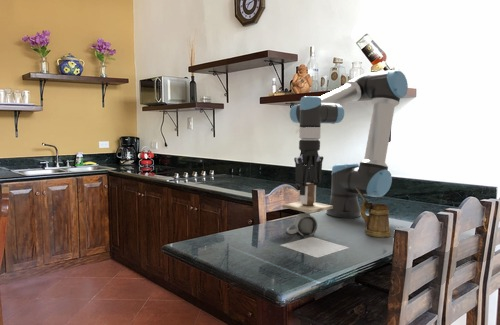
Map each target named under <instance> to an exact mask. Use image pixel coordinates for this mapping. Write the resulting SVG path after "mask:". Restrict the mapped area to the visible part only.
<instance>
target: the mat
mask: <svg viewBox="0 0 500 325" xmlns="http://www.w3.org/2000/svg"><path fill="white" fill-rule="evenodd" d="M280 247H284V248H287V249H290V250H293V251H296V252H299V253H302V254H305V255H308V256H311V257H314V258H317V259H319V258H321V257H324V256H328V255H331V254H334V253H337V252H340V251H341V252H342V251H344V250H346V249H350V247H348V246H344V245H342V244H338V243H335V242H332V241H328V240H324V239H322V238H319V237H314V236H310V237H306V238H302V239H297V240H295V241H290V242H287V243H284V244H280Z"/></svg>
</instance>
